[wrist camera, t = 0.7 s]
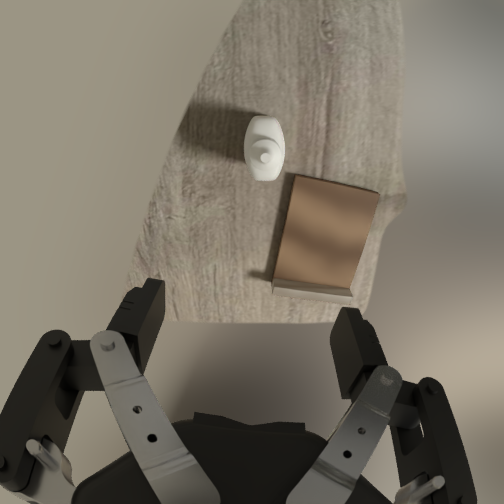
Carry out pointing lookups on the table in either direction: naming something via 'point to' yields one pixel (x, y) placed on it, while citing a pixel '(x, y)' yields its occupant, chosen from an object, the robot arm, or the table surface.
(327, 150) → the table surface
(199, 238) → the table surface
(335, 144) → the table surface
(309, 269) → the walnut shelf board
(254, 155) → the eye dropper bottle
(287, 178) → the table surface
